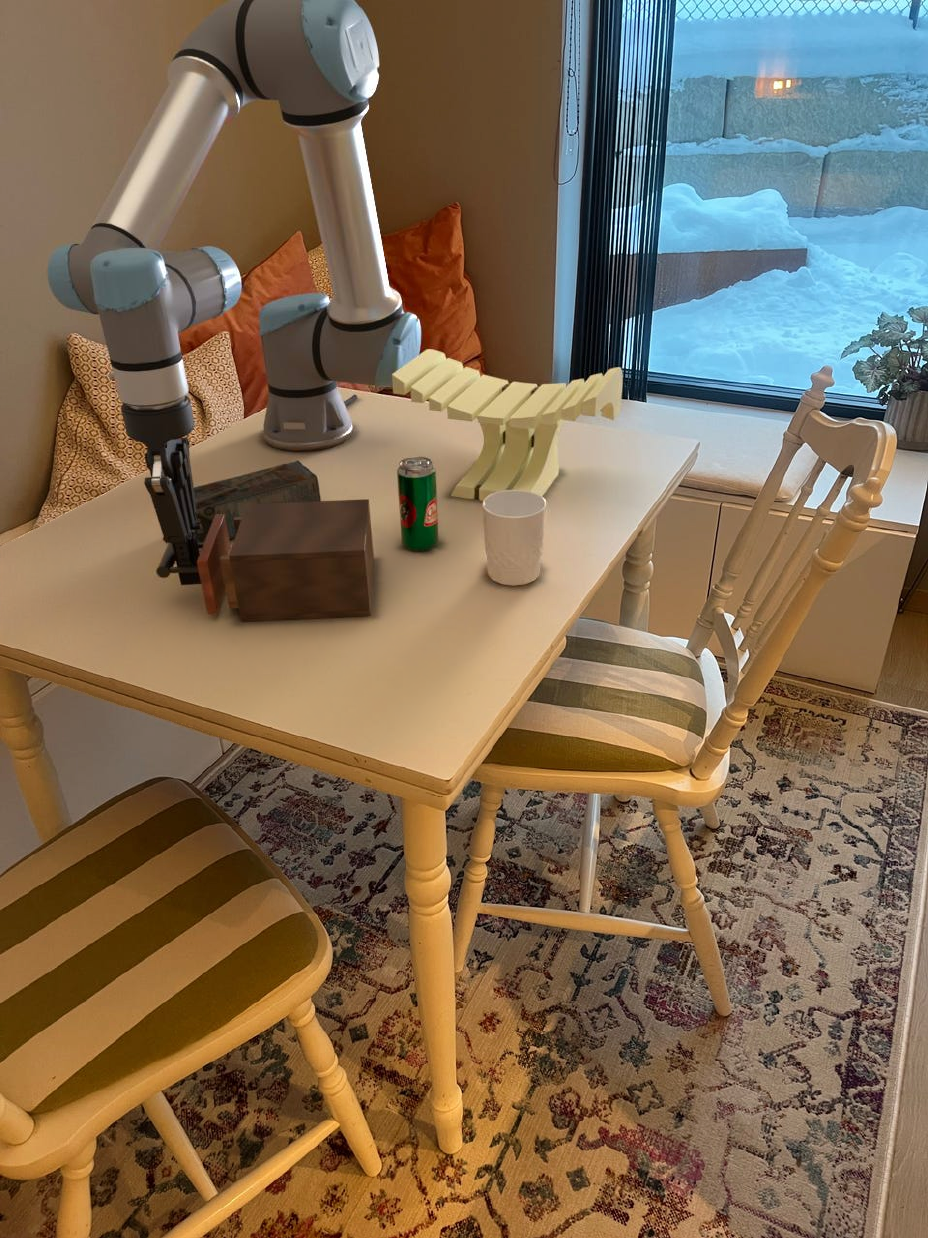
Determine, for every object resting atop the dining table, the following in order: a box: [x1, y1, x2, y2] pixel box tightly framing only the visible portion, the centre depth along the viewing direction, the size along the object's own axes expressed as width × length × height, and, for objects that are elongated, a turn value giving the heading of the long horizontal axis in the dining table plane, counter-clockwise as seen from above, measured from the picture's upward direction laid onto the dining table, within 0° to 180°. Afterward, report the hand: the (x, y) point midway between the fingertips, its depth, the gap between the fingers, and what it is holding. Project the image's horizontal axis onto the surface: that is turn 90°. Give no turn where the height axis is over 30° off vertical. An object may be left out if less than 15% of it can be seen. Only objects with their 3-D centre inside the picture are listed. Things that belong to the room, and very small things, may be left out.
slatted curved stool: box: [392, 348, 624, 502], centre depth 140 cm, size 30×16×18 cm, turn 68°
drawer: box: [155, 514, 242, 615], centre depth 116 cm, size 20×12×7 cm, turn 93°
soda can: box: [396, 456, 439, 552], centre depth 125 cm, size 5×5×12 cm
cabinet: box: [229, 498, 375, 623], centre depth 116 cm, size 16×14×9 cm
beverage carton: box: [192, 460, 322, 543], centre depth 133 cm, size 8×19×7 cm, turn 121°
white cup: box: [481, 490, 547, 587], centre depth 118 cm, size 8×8×10 cm
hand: (192, 581), depth 117 cm, fingers closed
